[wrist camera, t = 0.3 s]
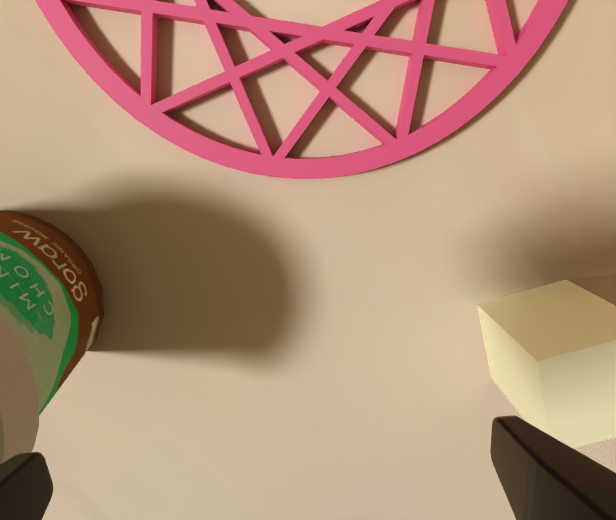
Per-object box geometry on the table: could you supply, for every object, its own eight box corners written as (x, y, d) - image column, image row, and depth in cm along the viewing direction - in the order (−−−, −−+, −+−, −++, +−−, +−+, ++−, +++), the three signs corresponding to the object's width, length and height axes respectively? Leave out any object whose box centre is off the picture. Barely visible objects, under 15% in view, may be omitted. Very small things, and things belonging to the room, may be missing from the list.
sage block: (574, 354, 23) (663, 424, 18) (490, 377, 24) (551, 453, 18) (565, 278, 22) (658, 328, 16) (476, 304, 22) (537, 361, 17)
